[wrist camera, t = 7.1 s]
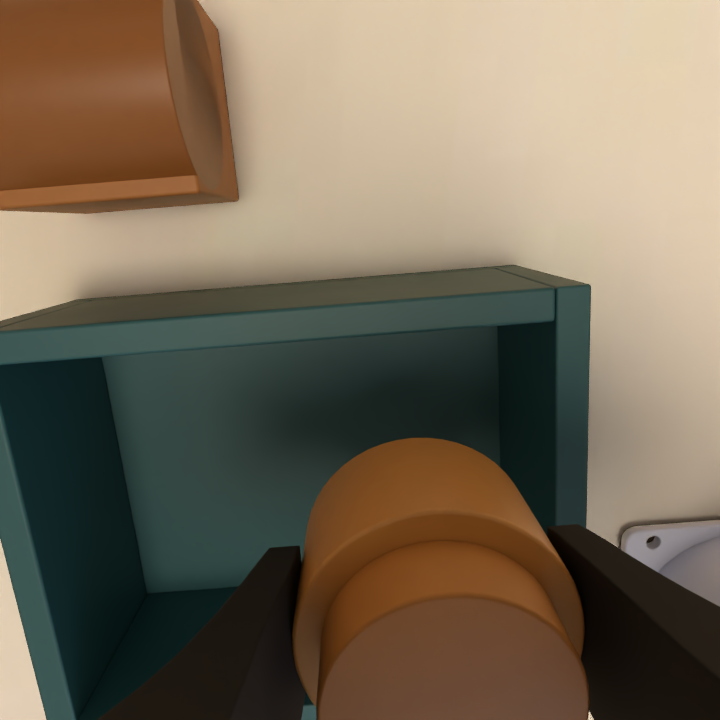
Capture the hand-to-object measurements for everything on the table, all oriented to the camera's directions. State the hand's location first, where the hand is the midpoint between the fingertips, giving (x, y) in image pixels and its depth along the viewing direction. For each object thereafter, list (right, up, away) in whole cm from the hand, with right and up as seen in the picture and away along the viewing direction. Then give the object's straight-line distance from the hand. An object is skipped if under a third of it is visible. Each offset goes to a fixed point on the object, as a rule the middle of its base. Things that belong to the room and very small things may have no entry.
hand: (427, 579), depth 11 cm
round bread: (0, 0, +1) cm, 1 cm away
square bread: (-8, +12, +6) cm, 15 cm away
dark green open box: (-3, +1, +9) cm, 9 cm away
